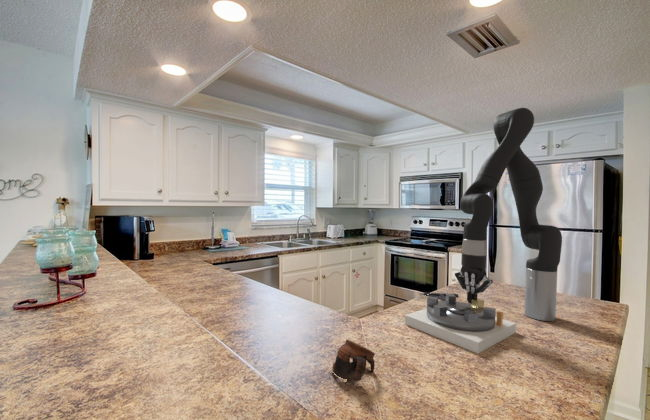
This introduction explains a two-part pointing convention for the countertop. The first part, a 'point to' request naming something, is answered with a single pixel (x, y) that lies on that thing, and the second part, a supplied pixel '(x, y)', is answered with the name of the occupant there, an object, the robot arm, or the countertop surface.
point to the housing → (465, 339)
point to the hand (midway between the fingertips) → (471, 303)
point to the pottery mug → (358, 365)
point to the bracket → (438, 295)
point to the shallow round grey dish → (461, 314)
